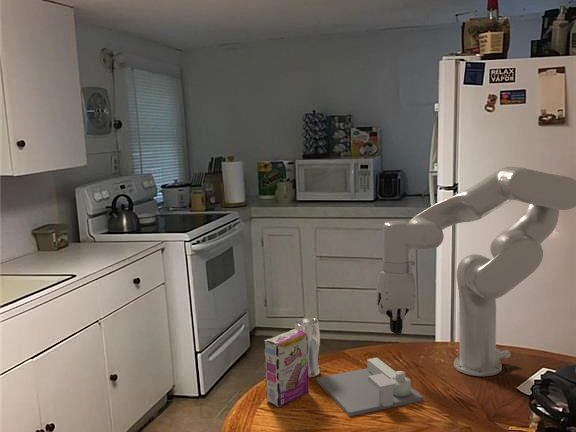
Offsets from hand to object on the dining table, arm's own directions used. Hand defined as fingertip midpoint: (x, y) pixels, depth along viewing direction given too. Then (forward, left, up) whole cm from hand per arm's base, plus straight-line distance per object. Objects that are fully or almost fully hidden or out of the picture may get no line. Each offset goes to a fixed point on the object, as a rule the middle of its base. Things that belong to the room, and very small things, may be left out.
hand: (396, 332), depth 153 cm
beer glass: (+22, -10, -12) cm, 27 cm away
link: (+6, +7, -10) cm, 14 cm away
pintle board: (+12, +7, -12) cm, 18 cm away
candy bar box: (+32, +2, -12) cm, 34 cm away
